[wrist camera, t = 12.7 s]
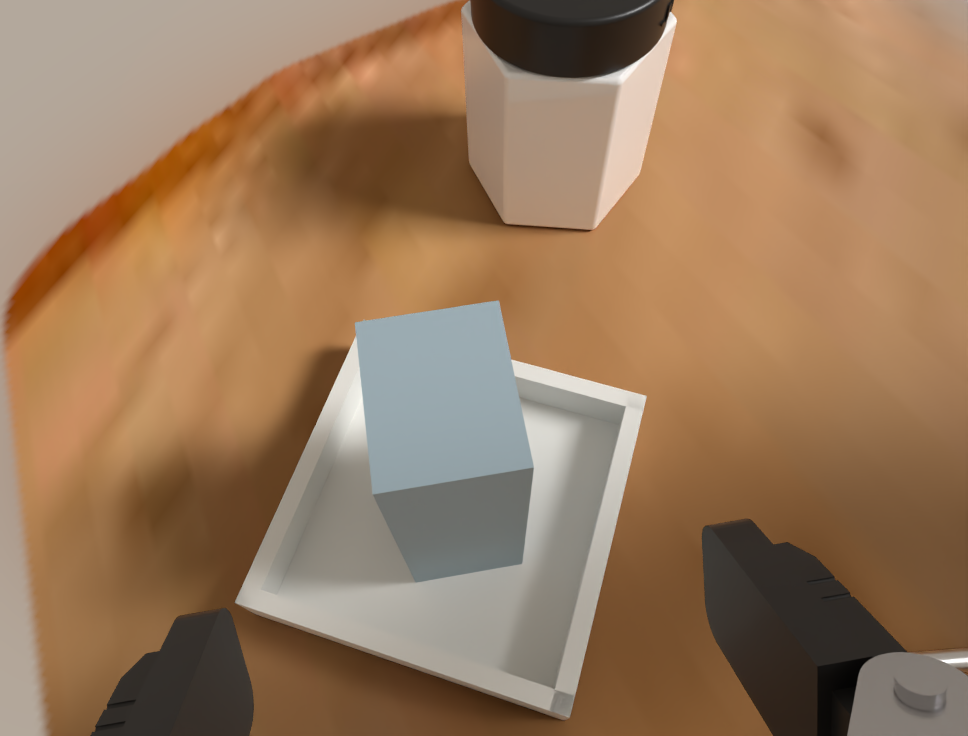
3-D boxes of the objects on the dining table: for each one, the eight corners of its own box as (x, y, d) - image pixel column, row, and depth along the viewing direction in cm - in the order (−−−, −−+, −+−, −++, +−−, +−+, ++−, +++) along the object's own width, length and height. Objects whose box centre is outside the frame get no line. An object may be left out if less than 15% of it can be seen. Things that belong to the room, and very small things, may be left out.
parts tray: (372, 347, 34) (363, 319, 32) (636, 420, 32) (646, 396, 30) (255, 614, 29) (234, 602, 27) (564, 720, 27) (569, 717, 25)
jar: (665, 204, 38) (730, -11, 27) (520, 259, 36) (530, 55, 26) (583, 91, 42) (612, -136, 31) (449, 137, 40) (432, -85, 30)
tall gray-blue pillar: (498, 441, 31) (498, 300, 22) (522, 564, 29) (534, 467, 19) (400, 457, 31) (354, 322, 21) (415, 582, 29) (372, 494, 19)
